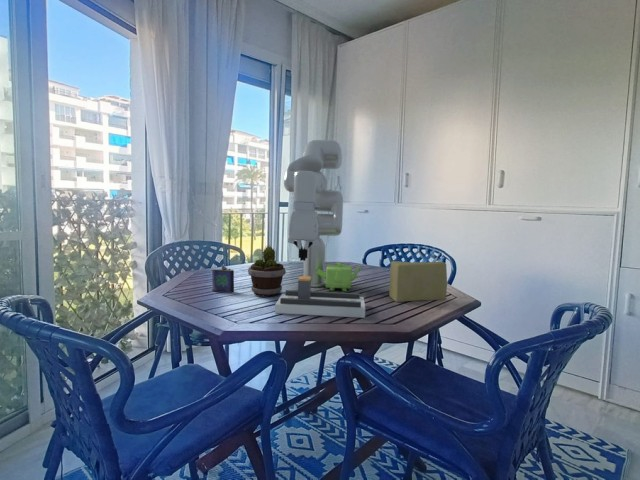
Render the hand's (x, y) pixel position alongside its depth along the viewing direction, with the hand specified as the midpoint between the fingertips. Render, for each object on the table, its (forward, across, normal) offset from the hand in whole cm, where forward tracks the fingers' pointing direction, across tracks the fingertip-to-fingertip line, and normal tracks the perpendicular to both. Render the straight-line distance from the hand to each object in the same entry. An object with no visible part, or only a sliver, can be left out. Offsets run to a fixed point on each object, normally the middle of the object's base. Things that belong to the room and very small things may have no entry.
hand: (302, 260), depth 134 cm
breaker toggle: (+14, -1, 0) cm, 14 cm away
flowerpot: (+17, +16, -18) cm, 29 cm away
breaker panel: (+17, -7, 0) cm, 18 cm away
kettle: (+17, -14, -30) cm, 37 cm away
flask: (+17, +34, -19) cm, 42 cm away
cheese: (+17, -45, -19) cm, 52 cm away
